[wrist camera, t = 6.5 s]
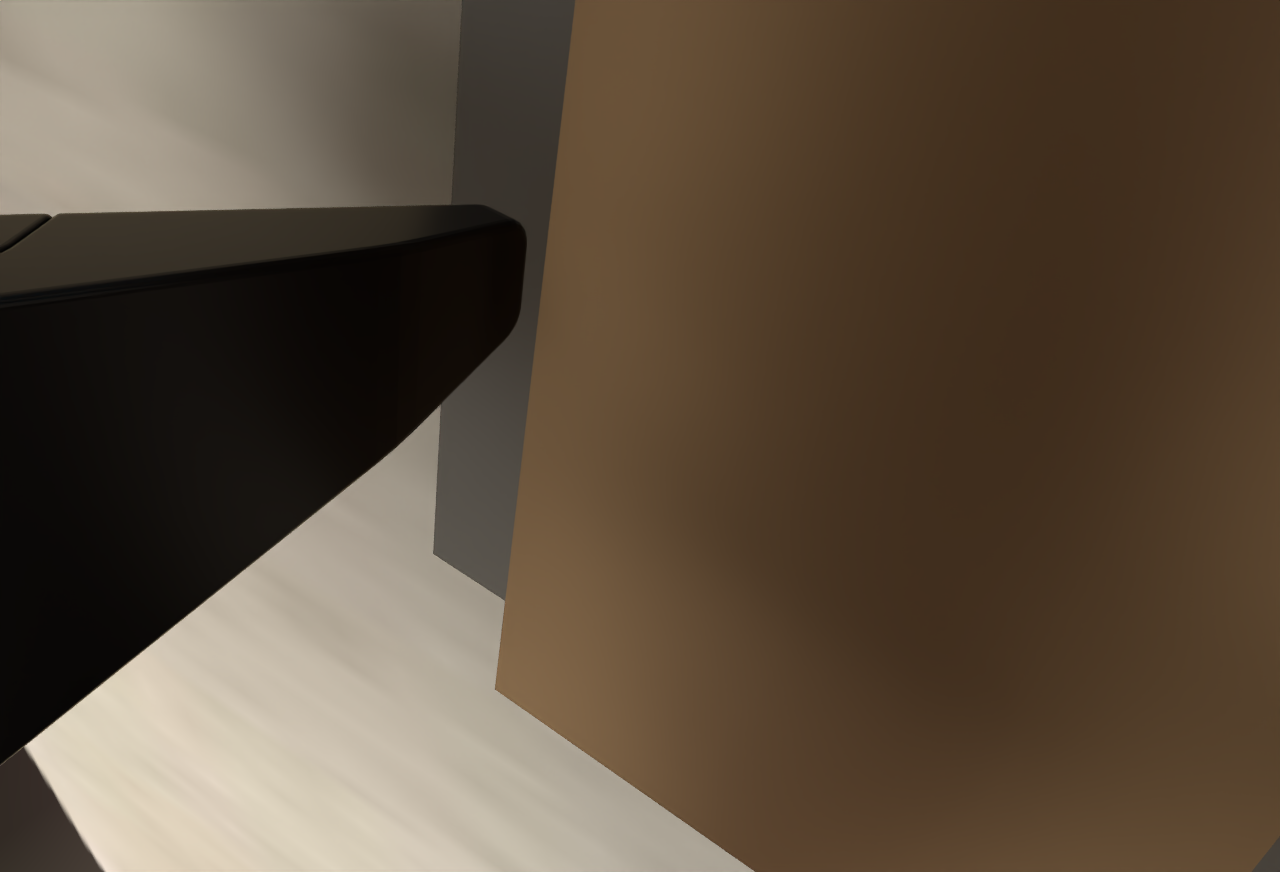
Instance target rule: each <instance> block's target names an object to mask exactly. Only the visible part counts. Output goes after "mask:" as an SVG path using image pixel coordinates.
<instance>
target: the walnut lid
mask: <svg viewBox="0 0 1280 872" xmlns="http://www.w3.org/2000/svg"><path fill="white" fill-rule="evenodd" d="M495 690H497V691H498V692H500V693H501V694H502V695H504V696H505V697H507V698H508V699H510V700H511V701H512V702H514V703H515V704H517V705H518V706H520V707H521V708H522V709H524V710H525V711H527V712H528V713H530V714H531V715H532V716H534V717H535V718H537V719H538V720H540V721H541V722H542V723H544V724H545V725H547V726H548V727H550V728H551V729H552V730H554V731H555V732H557V733H558V734H560V735H561V736H562V737H564V738H565V739H567V740H568V741H570V742H571V743H572V744H574V745H575V746H577V747H578V748H580V749H581V750H582V751H584V752H585V753H587V754H588V755H590V756H591V757H592V758H594V759H595V760H597V761H598V762H600V763H601V764H602V765H604V766H605V767H607V768H608V769H609V770H611V771H612V772H614V773H615V774H617V775H618V776H619V777H621V778H622V779H624V780H625V781H627V782H628V783H629V784H631V785H632V786H634V787H635V788H637V789H638V790H639V791H641V792H642V793H644V794H645V795H647V796H648V797H649V798H651V799H652V800H654V801H655V802H657V803H658V804H659V805H661V806H662V807H664V808H665V809H667V810H668V811H669V812H671V813H672V814H674V815H675V816H677V817H678V818H679V819H681V820H682V821H684V822H685V823H687V824H688V825H689V826H691V827H692V828H694V829H695V830H697V831H698V832H699V833H701V834H702V835H704V836H705V837H707V838H708V839H709V840H711V841H712V842H714V843H715V844H717V845H718V846H719V847H721V848H722V849H724V850H725V851H726V852H728V853H729V854H731V855H732V856H734V857H735V858H736V859H738V860H739V861H741V862H742V863H744V864H745V865H746V866H748V867H749V868H751V869H752V870H754V871H755V872H1252V870H1253V869H1254V868H1255V867H1256V865H1257V864H1258V863H1259V862H1260V860H1261V859H1262V858H1263V857H1264V855H1265V854H1266V853H1267V852H1268V850H1269V849H1270V848H1271V846H1272V845H1273V844H1274V843H1275V841H1276V840H1277V839H1278V838H1279V836H1280V0H575V8H574V17H573V25H572V34H571V43H570V51H569V60H568V68H567V77H566V85H565V94H564V102H563V111H562V120H561V128H560V137H559V145H558V154H557V162H556V171H555V179H554V188H553V197H552V205H551V214H550V222H549V231H548V239H547V248H546V256H545V265H544V274H543V282H542V291H541V299H540V308H539V316H538V325H537V334H536V342H535V351H534V359H533V368H532V376H531V385H530V393H529V402H528V411H527V419H526V428H525V436H524V445H523V453H522V462H521V470H520V479H519V488H518V496H517V505H516V513H515V522H514V530H513V539H512V547H511V556H510V565H509V573H508V582H507V590H506V599H505V607H504V616H503V625H502V633H501V642H500V650H499V659H498V667H497V676H496V684H495Z"/></svg>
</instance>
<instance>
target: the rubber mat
mask: <svg viewBox="0 0 1280 872" xmlns="http://www.w3.org/2000/svg"><path fill="white" fill-rule="evenodd" d="M574 8H575V0H462V13H461V32H460V52H459V71H458V90H457V109H456V128H455V147H454V167H453V186H452V205H465V204H481V205H485V206H489V207H491V208H493V209H495V210H497V211H499V212H501V213H503V214H505V215H507V216H509V217H511V218H513V219H515V220H517V221H519V222H520V223H521V225H522V226H523V227H524V229H525V231H526V236H527V251H526V262H525V272H524V283H523V293H522V303H521V311H520V315H519V318H518V321H517V323H516V325H515V327H514V329H513V330H512V332H511V333H510V335H509V336H508V337H507V338H506V340H505V341H504V342H503V343H502V344H501V345H500V346H499V347H498V348H497V349H496V350H495V351H494V352H493V353H492V354H491V355H490V356H489V357H488V358H487V359H486V360H485V361H484V362H483V363H482V364H481V365H480V366H479V367H478V368H477V369H476V370H475V371H474V372H473V373H472V374H471V375H470V376H469V377H468V378H467V379H466V380H465V381H464V382H463V383H462V384H460V385H459V386H458V387H457V388H456V389H455V390H454V391H453V392H452V393H451V394H450V395H449V396H448V397H447V398H446V399H445V400H444V401H443V402H442V403H441V416H440V435H439V454H438V473H437V492H436V512H435V531H434V550H433V554H434V555H436V556H437V557H439V558H440V559H442V560H443V561H445V562H447V563H448V564H450V565H451V566H453V567H454V568H456V569H457V570H459V571H460V572H462V573H463V574H465V575H466V576H468V577H470V578H471V579H473V580H474V581H476V582H477V583H479V584H480V585H482V586H483V587H485V588H486V589H488V590H489V591H491V592H493V593H494V594H496V595H497V596H499V597H500V598H502V599H503V600H505V599H506V590H507V582H508V573H509V565H510V556H511V547H512V539H513V530H514V522H515V513H516V505H517V496H518V488H519V479H520V470H521V462H522V453H523V445H524V436H525V428H526V419H527V411H528V402H529V393H530V385H531V376H532V368H533V359H534V351H535V342H536V334H537V325H538V316H539V308H540V299H541V291H542V282H543V274H544V265H545V256H546V248H547V239H548V231H549V222H550V214H551V205H552V197H553V188H554V179H555V171H556V162H557V154H558V145H559V137H560V128H561V120H562V111H563V102H564V94H565V85H566V77H567V68H568V60H569V51H570V43H571V34H572V25H573V17H574ZM1252 872H1280V836H1279V838H1278V839H1277V840H1276V841H1275V843H1274V844H1273V845H1272V846H1271V848H1270V849H1269V850H1268V852H1267V853H1266V854H1265V855H1264V857H1263V858H1262V859H1261V860H1260V862H1259V863H1258V864H1257V865H1256V867H1255V868H1254V869H1253V870H1252Z"/></svg>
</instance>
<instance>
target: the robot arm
mask: <svg viewBox="0 0 1280 872" xmlns="http://www.w3.org/2000/svg"><path fill="white" fill-rule="evenodd" d="M526 251H527V236H526V231H525V229H524V227H523V226H522V225H521V223H520V222H519V221H517V220H515V219H513V218H511V217H509V216H507V215H505V214H503V213H501V212H499V211H497V210H495V209H493V208H491V207H489V206H485V205H481V204H465V205H420V206H375V207H331V208H286V209H242V210H197V211H152V212H108V213H63V214H57V215H56V216H54V217H53V218H52V217H51V216H50V215H48V214H11V215H0V765H2V764H3V763H4V762H5V761H7V760H8V759H9V758H10V757H11V756H13V755H14V754H15V753H16V752H18V751H19V750H20V749H22V748H23V747H24V746H25V745H27V744H28V743H29V742H30V741H32V740H33V739H34V738H35V737H37V736H38V735H39V734H40V733H42V732H43V731H44V730H45V729H47V728H48V727H49V726H50V725H52V724H53V723H54V722H55V721H56V720H58V719H59V718H60V717H61V716H63V715H64V714H65V713H66V712H68V711H69V710H70V709H71V708H73V707H74V706H75V705H76V704H78V703H79V702H80V701H81V700H83V699H84V698H85V697H86V696H88V695H89V694H90V693H91V692H93V691H94V690H95V689H96V688H98V687H99V686H100V685H101V684H103V683H104V682H105V681H106V680H108V679H109V678H110V677H111V676H113V675H114V674H115V673H116V672H118V671H119V670H120V669H121V668H123V667H124V666H125V665H126V664H128V663H129V662H130V661H131V660H133V659H134V658H135V657H136V656H138V655H139V654H140V653H141V652H143V651H144V650H145V649H146V648H148V647H149V646H150V645H151V644H153V643H154V642H155V641H156V640H158V639H159V638H160V637H161V636H163V635H164V634H165V633H166V632H168V631H169V630H170V629H171V628H173V627H174V626H175V625H176V624H178V623H179V622H180V621H181V620H183V619H184V618H185V617H186V616H188V615H189V614H190V613H191V612H193V611H194V610H195V609H196V608H198V607H199V606H200V605H201V604H203V603H204V602H205V601H206V600H208V599H209V598H210V597H211V596H213V595H214V594H215V593H216V592H217V591H219V590H220V589H221V588H222V587H224V586H225V585H226V584H227V583H229V582H230V581H231V580H232V579H234V578H235V577H236V576H237V575H239V574H240V573H241V572H242V571H244V570H245V569H246V568H247V567H249V566H250V565H251V564H252V563H254V562H255V561H256V560H257V559H259V558H260V557H261V556H262V555H264V554H265V553H266V552H267V551H269V550H270V549H271V548H272V547H274V546H275V545H276V544H277V543H279V542H280V541H281V540H282V539H284V538H285V537H286V536H287V535H289V534H290V533H291V532H292V531H294V530H295V529H296V528H297V527H299V526H300V525H301V524H302V523H304V522H305V521H306V520H307V519H309V518H310V517H311V516H312V515H314V514H315V513H316V512H317V511H319V510H320V509H321V508H322V507H324V506H325V505H326V504H327V503H329V502H330V501H331V500H332V499H334V498H335V497H336V496H337V495H339V494H340V493H341V492H342V491H344V490H345V489H346V488H347V487H349V486H350V485H351V484H352V483H354V482H355V481H356V480H357V479H359V478H360V477H361V476H362V475H364V474H365V473H366V472H367V471H369V470H370V469H371V468H372V467H374V466H375V465H376V464H377V463H378V462H380V461H381V460H382V459H383V458H384V457H385V456H387V455H388V454H389V453H390V452H391V451H393V450H394V449H395V448H396V447H397V446H398V445H399V444H400V443H401V442H402V441H404V440H405V439H406V438H407V437H408V436H409V435H410V434H411V433H412V432H413V431H414V430H415V429H416V428H417V427H418V426H419V425H420V424H421V423H422V422H423V421H424V420H425V419H426V418H427V417H428V416H429V415H430V414H431V413H432V412H433V411H434V410H435V409H436V408H437V407H438V406H439V405H440V404H441V403H442V402H443V401H444V400H445V399H446V398H447V397H448V396H449V395H450V394H451V393H452V392H453V391H454V390H455V389H456V388H457V387H458V386H459V385H460V384H462V383H463V382H464V381H465V380H466V379H467V378H468V377H469V376H470V375H471V374H472V373H473V372H474V371H475V370H476V369H477V368H478V367H479V366H480V365H481V364H482V363H483V362H484V361H485V360H486V359H487V358H488V357H489V356H490V355H491V354H492V353H493V352H494V351H495V350H496V349H497V348H498V347H499V346H500V345H501V344H502V343H503V342H504V341H505V340H506V338H507V337H508V336H509V335H510V333H511V332H512V330H513V329H514V327H515V325H516V323H517V321H518V318H519V315H520V311H521V303H522V293H523V283H524V272H525V262H526Z"/></svg>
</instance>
